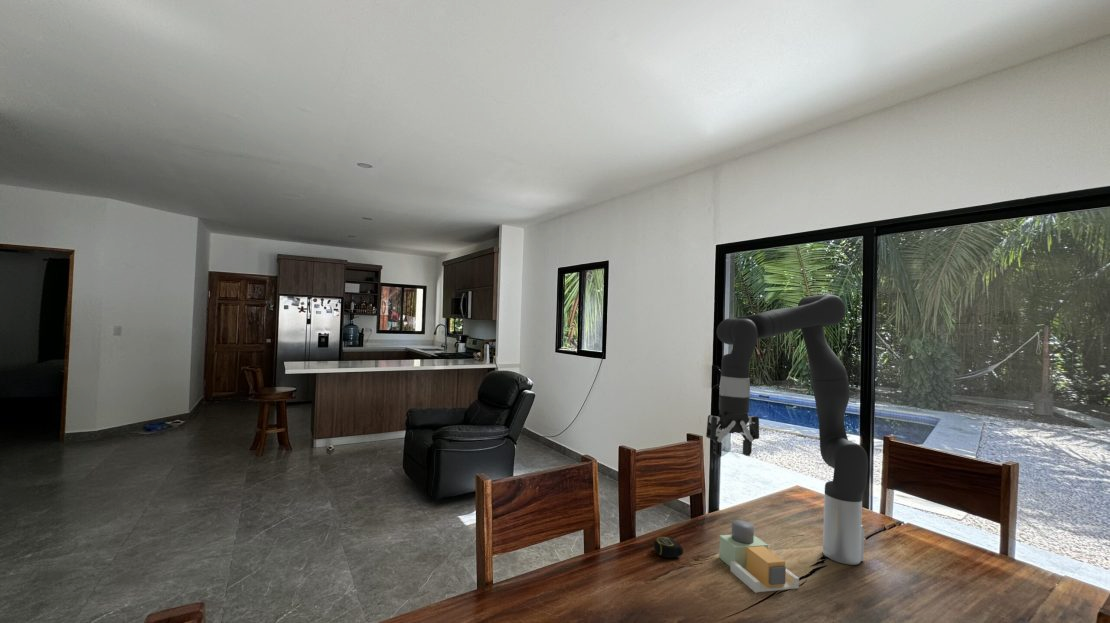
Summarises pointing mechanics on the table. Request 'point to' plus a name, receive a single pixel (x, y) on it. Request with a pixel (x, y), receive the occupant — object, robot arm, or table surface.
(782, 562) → the tall mustard block
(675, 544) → the tape measure
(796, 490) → the table surface
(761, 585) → the green stand
